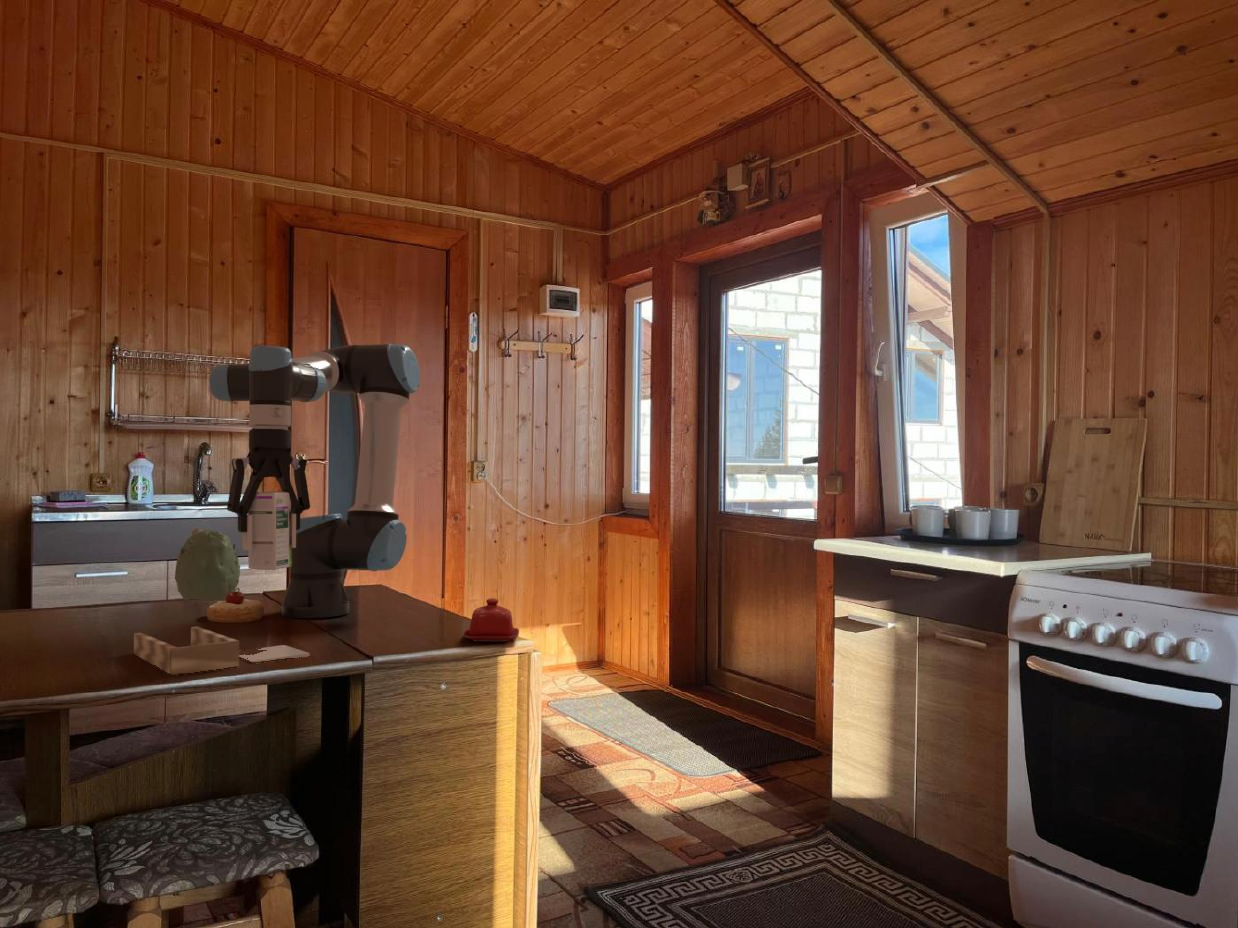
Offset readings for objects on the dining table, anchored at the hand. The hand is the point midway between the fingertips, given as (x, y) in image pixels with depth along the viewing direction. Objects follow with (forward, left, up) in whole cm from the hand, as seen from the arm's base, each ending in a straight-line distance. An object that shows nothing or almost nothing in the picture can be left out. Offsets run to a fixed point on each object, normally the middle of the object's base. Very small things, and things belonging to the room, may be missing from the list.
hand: (269, 548), depth 179 cm
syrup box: (0, 0, -4) cm, 4 cm away
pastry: (-38, +9, -21) cm, 44 cm away
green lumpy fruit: (-70, +14, -21) cm, 74 cm away
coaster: (0, 0, -21) cm, 21 cm away
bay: (-4, -14, -21) cm, 25 cm away
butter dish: (+12, +44, -21) cm, 50 cm away
